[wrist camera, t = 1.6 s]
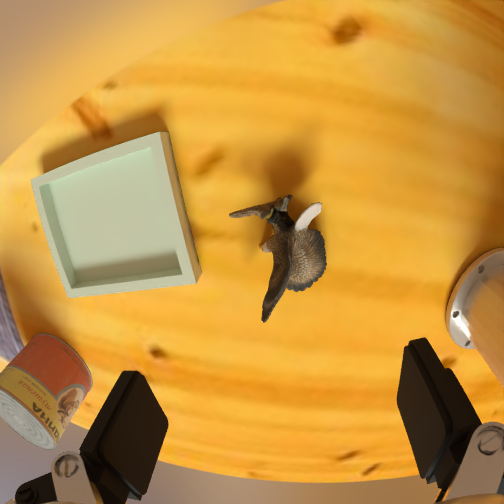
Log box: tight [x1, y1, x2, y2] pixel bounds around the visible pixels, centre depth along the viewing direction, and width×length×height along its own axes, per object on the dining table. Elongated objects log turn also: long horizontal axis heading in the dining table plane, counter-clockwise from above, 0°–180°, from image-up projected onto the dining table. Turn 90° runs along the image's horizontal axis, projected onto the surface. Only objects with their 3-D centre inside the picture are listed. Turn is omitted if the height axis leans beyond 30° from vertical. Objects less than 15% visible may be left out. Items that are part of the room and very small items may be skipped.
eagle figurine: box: [229, 195, 327, 323], centre depth 24 cm, size 8×7×9 cm
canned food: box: [0, 333, 93, 450], centre depth 30 cm, size 11×11×12 cm
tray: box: [31, 132, 202, 298], centre depth 26 cm, size 15×13×2 cm
